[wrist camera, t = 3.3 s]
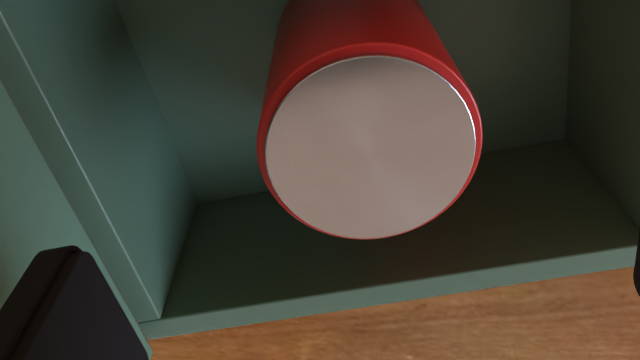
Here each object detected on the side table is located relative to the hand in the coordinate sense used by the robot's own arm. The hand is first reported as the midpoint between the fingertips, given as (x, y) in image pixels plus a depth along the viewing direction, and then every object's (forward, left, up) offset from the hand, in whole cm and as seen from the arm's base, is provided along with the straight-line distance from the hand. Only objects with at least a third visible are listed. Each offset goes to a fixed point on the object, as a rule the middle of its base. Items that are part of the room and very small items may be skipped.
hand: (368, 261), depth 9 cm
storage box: (0, 0, -11) cm, 11 cm away
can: (0, 0, -10) cm, 10 cm away
